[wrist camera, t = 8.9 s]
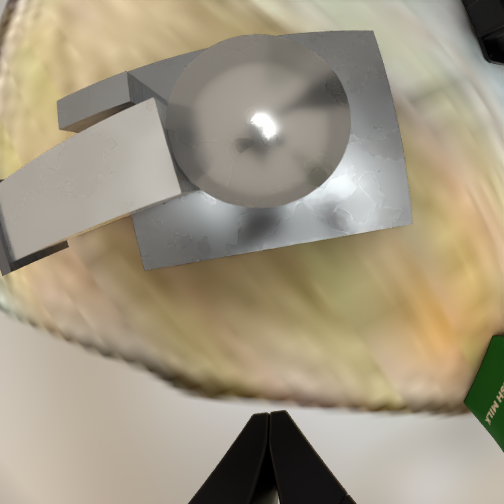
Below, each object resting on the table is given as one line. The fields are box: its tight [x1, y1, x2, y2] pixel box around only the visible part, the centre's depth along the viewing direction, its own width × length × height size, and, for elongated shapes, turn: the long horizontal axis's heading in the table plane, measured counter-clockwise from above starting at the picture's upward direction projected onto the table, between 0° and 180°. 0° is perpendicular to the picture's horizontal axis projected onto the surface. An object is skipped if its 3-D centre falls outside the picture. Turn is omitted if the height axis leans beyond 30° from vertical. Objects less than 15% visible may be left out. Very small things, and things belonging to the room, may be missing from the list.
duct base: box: [57, 31, 413, 271], centre depth 14 cm, size 16×12×6 cm
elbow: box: [0, 34, 351, 276], centre depth 12 cm, size 16×6×5 cm, turn 107°
